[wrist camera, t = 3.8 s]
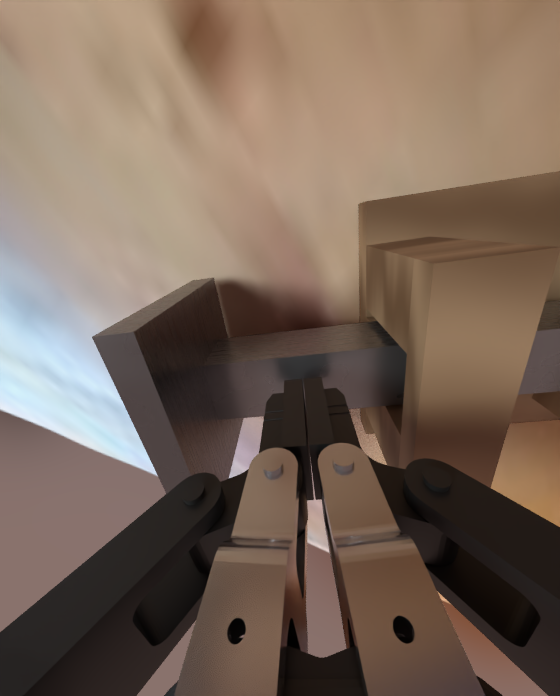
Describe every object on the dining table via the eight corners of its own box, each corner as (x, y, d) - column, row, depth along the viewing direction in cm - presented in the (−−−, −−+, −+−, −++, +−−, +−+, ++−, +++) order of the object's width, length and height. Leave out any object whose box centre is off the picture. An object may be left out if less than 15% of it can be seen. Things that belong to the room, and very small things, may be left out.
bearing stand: (358, 204, 13) (443, 177, 6) (643, 159, 12) (1198, 56, 5) (360, 419, 19) (404, 541, 12) (553, 403, 18) (737, 529, 11)
